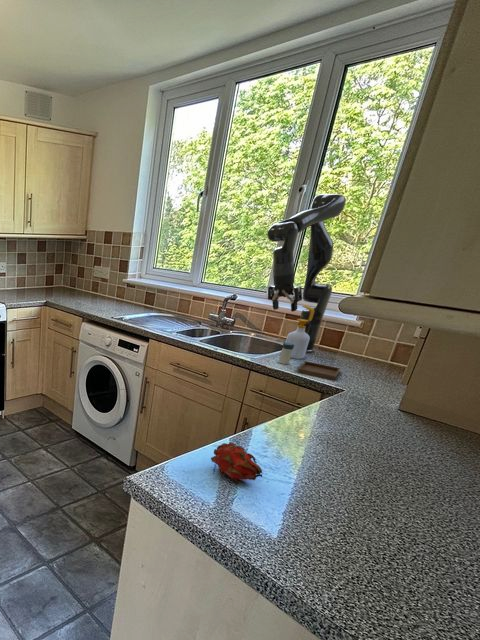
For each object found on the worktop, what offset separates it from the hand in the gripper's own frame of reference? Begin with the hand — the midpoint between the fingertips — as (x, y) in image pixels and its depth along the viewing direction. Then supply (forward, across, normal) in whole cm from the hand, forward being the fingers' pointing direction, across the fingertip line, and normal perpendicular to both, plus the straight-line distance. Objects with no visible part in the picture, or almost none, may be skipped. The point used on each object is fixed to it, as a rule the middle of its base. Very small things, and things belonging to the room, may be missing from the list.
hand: (284, 310), depth 176 cm
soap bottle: (+29, +8, -14) cm, 33 cm away
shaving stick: (+25, +2, 0) cm, 25 cm away
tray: (+28, -12, -4) cm, 30 cm away
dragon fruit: (+6, -64, +93) cm, 113 cm away
